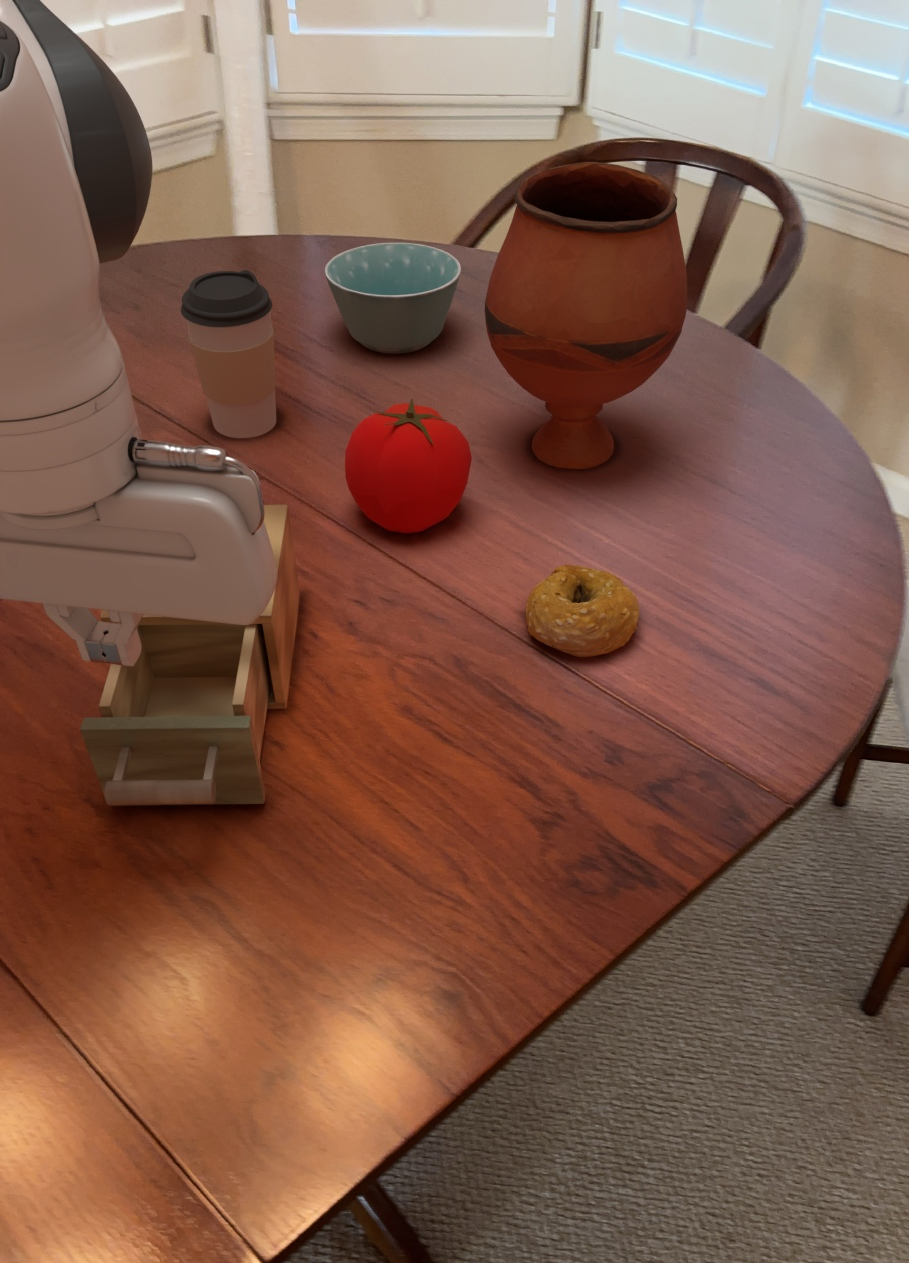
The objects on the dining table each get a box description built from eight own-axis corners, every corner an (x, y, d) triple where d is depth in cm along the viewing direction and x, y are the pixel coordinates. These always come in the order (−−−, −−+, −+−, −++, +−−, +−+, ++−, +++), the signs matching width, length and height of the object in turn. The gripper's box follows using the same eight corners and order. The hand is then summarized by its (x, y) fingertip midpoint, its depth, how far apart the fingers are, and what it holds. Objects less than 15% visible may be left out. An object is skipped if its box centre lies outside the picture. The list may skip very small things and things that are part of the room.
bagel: (652, 602, 95) (660, 557, 91) (617, 678, 88) (624, 633, 85) (546, 576, 97) (550, 532, 94) (505, 649, 91) (507, 604, 87)
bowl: (338, 308, 134) (332, 238, 128) (462, 310, 134) (463, 240, 128) (323, 367, 124) (316, 294, 118) (458, 370, 124) (458, 297, 117)
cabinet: (286, 710, 86) (271, 615, 78) (129, 712, 86) (99, 617, 78) (300, 598, 95) (287, 504, 88) (159, 599, 95) (135, 505, 88)
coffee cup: (227, 454, 111) (202, 309, 100) (188, 418, 116) (159, 276, 105) (302, 428, 115) (286, 285, 104) (261, 394, 120) (241, 254, 108)
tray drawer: (257, 855, 75) (241, 779, 69) (94, 857, 74) (63, 781, 69) (280, 680, 87) (268, 602, 81) (140, 681, 87) (117, 604, 81)
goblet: (504, 510, 105) (515, 240, 86) (465, 413, 117) (467, 159, 98) (689, 489, 107) (740, 223, 88) (632, 396, 120) (665, 145, 101)
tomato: (344, 550, 100) (334, 441, 92) (352, 483, 108) (344, 377, 99) (471, 551, 100) (472, 442, 92) (471, 484, 108) (472, 377, 99)
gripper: (273, 417, 51) (304, 641, 62) (-120, 383, 54) (-26, 605, 64) (234, 488, 47) (274, 715, 58) (-190, 448, 50) (-78, 674, 60)
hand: (113, 657), depth 61 cm, fingers closed
